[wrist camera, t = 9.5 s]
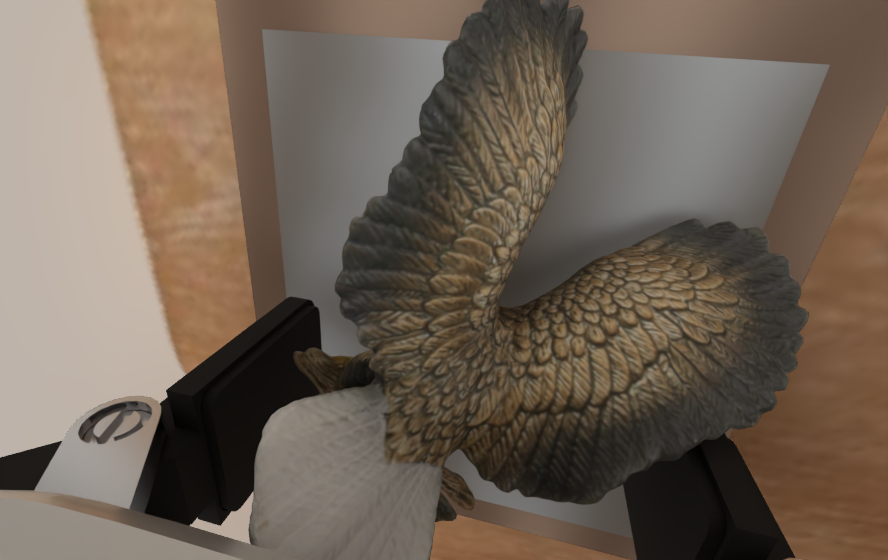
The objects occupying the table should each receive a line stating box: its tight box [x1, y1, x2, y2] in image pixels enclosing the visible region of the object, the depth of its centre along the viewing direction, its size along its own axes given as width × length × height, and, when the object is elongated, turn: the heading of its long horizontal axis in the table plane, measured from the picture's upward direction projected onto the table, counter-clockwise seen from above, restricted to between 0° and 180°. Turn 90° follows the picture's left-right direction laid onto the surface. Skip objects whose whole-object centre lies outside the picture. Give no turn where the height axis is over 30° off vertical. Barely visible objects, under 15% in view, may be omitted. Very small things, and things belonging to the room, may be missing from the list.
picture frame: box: [216, 0, 888, 560], centre depth 14 cm, size 16×18×3 cm
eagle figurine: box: [249, 0, 809, 560], centre depth 7 cm, size 8×7×9 cm
